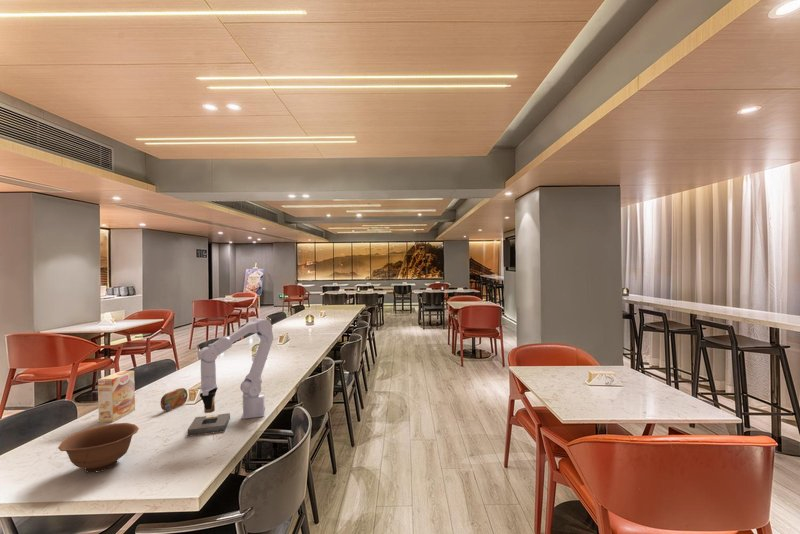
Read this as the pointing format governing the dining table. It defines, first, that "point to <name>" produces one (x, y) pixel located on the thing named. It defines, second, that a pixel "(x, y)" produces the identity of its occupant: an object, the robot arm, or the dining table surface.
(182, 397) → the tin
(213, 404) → the peg
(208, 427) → the plate
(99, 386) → the coffeecake box
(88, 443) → the bowl
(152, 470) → the dining table surface
